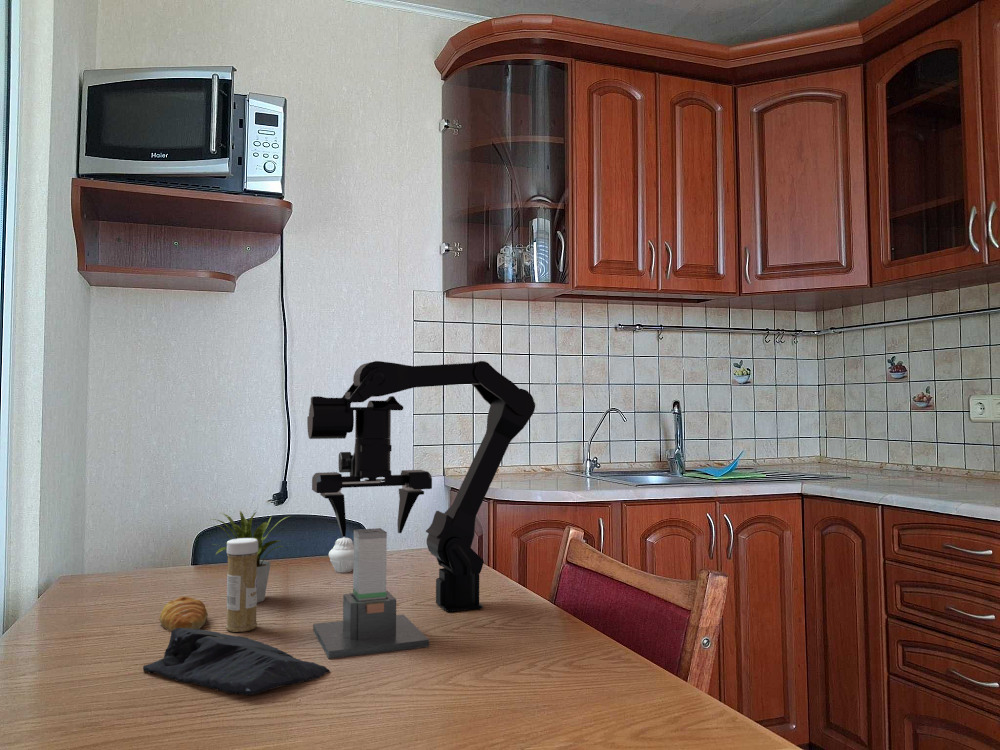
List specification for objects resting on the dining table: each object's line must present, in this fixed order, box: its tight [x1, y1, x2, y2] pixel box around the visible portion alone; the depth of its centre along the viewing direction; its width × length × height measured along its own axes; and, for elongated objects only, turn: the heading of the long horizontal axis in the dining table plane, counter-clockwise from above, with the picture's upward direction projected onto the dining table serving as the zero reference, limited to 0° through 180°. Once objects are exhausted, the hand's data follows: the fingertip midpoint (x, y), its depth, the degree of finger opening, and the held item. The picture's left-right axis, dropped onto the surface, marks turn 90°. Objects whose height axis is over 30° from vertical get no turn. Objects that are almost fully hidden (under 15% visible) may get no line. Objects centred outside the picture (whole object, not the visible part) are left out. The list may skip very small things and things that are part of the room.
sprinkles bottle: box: [225, 537, 258, 633], centre depth 116 cm, size 5×5×14 cm
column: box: [352, 527, 388, 602], centre depth 111 cm, size 4×4×10 cm
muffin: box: [328, 536, 354, 574], centre depth 156 cm, size 6×6×7 cm
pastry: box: [158, 596, 209, 633], centre depth 117 cm, size 9×7×4 cm
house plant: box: [211, 509, 291, 603], centre depth 133 cm, size 14×14×16 cm
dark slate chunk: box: [142, 628, 331, 696], centre depth 97 cm, size 15×22×5 cm
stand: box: [312, 590, 430, 660], centre depth 111 cm, size 14×14×6 cm
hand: (372, 534), depth 124 cm, fingers open, 9 cm apart
